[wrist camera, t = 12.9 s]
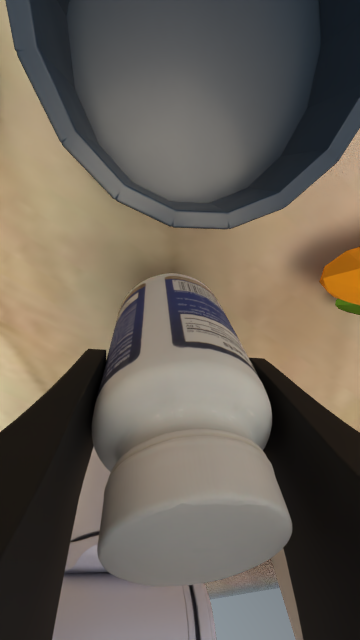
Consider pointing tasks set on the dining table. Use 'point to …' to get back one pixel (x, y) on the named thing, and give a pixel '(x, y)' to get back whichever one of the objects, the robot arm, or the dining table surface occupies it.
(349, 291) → the corn
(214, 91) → the pot
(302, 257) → the dining table surface
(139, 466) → the pill bottle
